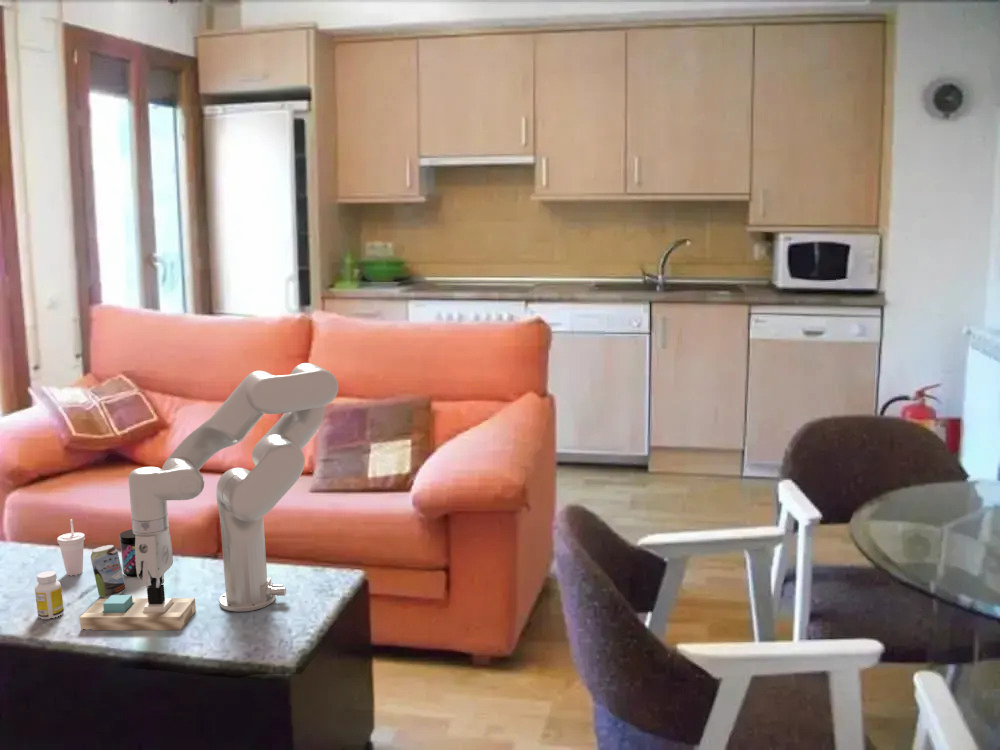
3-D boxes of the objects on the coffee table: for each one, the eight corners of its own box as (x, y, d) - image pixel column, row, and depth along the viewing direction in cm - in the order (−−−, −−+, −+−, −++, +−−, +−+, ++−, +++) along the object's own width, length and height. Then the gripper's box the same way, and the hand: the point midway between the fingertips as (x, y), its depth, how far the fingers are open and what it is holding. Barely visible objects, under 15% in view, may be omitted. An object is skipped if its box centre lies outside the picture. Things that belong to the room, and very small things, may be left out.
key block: (195, 610, 226) (194, 598, 225) (180, 629, 216) (179, 616, 215) (100, 611, 226) (99, 598, 226) (81, 630, 217) (79, 617, 216)
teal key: (133, 607, 223) (132, 594, 223) (124, 616, 219) (123, 603, 218) (112, 607, 223) (111, 595, 223) (104, 616, 219) (103, 603, 218)
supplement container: (122, 570, 251) (118, 531, 249) (150, 565, 253) (146, 527, 252) (124, 579, 245) (120, 539, 243) (153, 574, 247) (149, 535, 246)
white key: (172, 610, 223) (171, 598, 222) (165, 619, 218) (164, 606, 218) (152, 610, 223) (151, 598, 223) (144, 619, 219) (143, 606, 218)
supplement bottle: (64, 608, 228) (60, 568, 226) (63, 617, 223) (59, 576, 221) (38, 612, 226) (34, 571, 225) (37, 621, 221) (32, 580, 220)
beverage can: (116, 601, 232) (112, 552, 229) (88, 599, 233) (83, 551, 231) (131, 590, 238) (127, 543, 235) (104, 589, 239) (99, 541, 237)
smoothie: (93, 571, 251) (88, 518, 248) (71, 579, 245) (65, 525, 243) (78, 566, 254) (72, 514, 251) (55, 574, 249) (49, 521, 246)
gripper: (154, 535, 209) (161, 617, 213) (179, 512, 224) (184, 589, 227) (119, 535, 210) (126, 617, 213) (146, 512, 224) (152, 589, 228)
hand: (156, 602), depth 220 cm, fingers closed
